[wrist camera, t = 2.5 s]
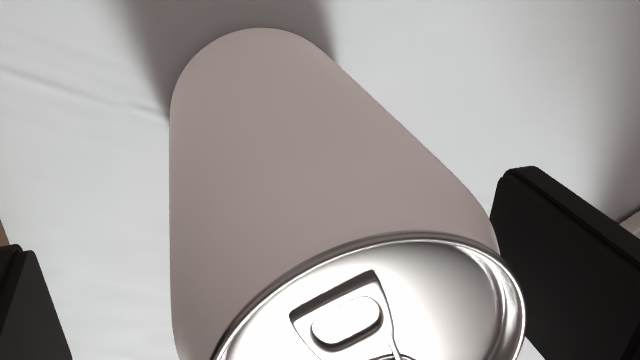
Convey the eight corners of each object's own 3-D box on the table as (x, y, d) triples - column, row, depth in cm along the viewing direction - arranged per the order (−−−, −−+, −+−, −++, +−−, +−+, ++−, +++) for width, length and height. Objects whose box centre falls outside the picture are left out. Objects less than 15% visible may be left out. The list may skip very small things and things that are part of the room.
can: (222, 215, 20) (280, 539, 10) (131, 75, 16) (70, 355, 6) (364, 144, 20) (567, 389, 10) (304, -9, 16) (525, 127, 6)
